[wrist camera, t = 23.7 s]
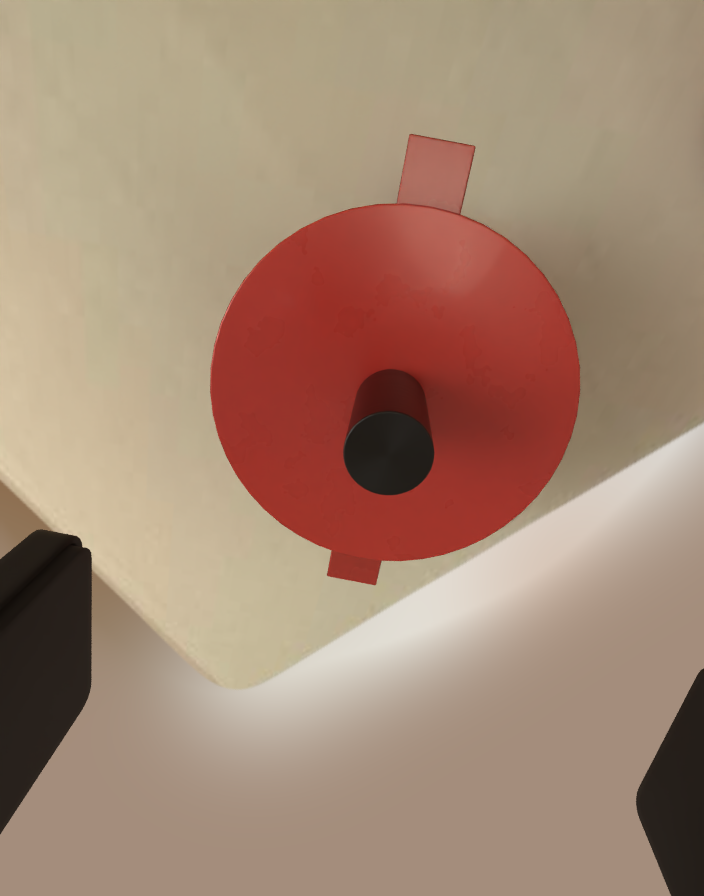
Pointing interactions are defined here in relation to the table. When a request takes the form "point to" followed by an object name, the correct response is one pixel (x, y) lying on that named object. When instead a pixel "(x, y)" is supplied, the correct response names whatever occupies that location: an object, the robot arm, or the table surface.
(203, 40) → the table surface
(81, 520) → the table surface
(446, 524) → the tin lid
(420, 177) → the tin
